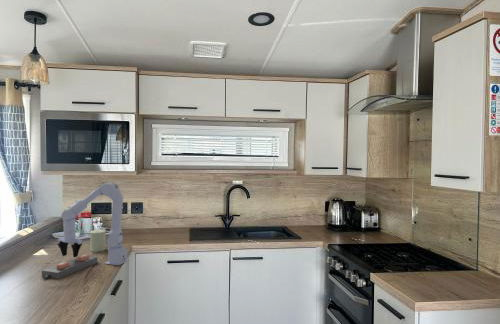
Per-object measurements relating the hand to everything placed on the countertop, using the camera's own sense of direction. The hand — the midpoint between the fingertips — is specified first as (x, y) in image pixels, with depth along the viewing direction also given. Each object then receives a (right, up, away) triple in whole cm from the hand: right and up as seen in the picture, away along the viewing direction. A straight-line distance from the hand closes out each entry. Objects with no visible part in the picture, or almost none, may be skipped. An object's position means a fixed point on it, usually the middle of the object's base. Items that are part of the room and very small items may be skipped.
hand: (70, 256), depth 187 cm
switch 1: (+4, -1, -15) cm, 16 cm away
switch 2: (+9, -1, -3) cm, 9 cm away
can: (+3, -4, +28) cm, 29 cm away
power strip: (+5, -4, -10) cm, 12 cm away
